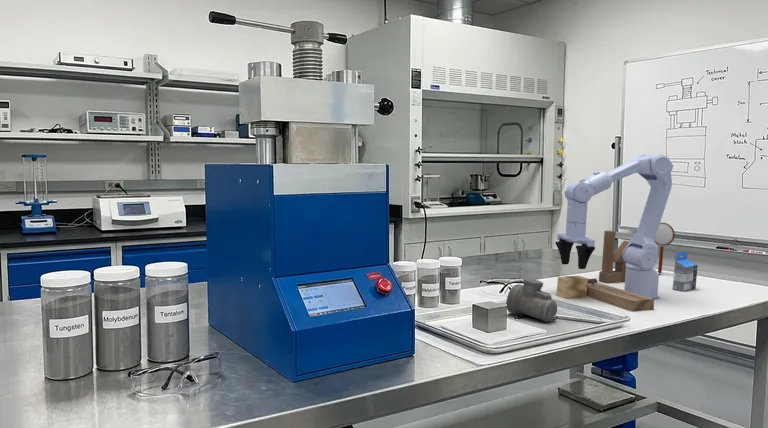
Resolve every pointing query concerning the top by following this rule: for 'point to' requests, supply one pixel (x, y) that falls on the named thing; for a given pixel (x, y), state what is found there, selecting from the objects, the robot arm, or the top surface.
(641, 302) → the walnut plank
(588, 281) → the light wood pillar
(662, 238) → the magnifying glass
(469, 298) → the top surface
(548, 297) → the grey electric motor
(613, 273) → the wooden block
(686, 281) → the label tape cartridge
